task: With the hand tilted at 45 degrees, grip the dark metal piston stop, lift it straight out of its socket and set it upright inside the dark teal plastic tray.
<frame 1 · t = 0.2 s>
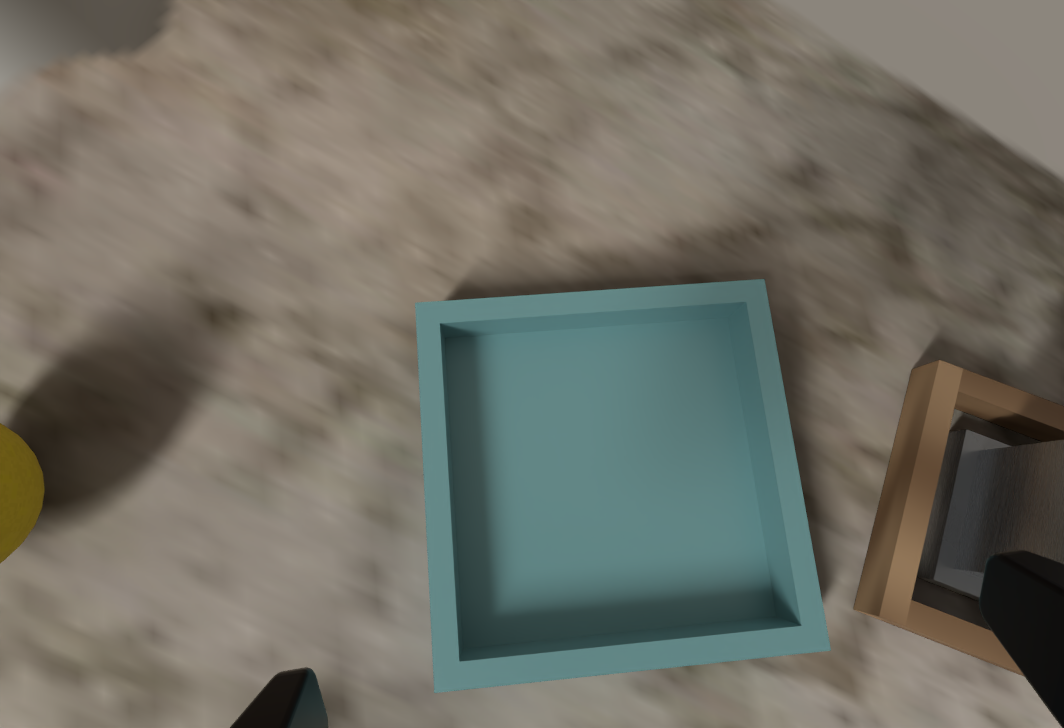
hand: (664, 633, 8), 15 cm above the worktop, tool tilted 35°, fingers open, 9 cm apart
lemon: (18, 501, 22), on the worktop
parts tray: (602, 472, 23), on the worktop
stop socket: (1005, 530, 24), on the worktop
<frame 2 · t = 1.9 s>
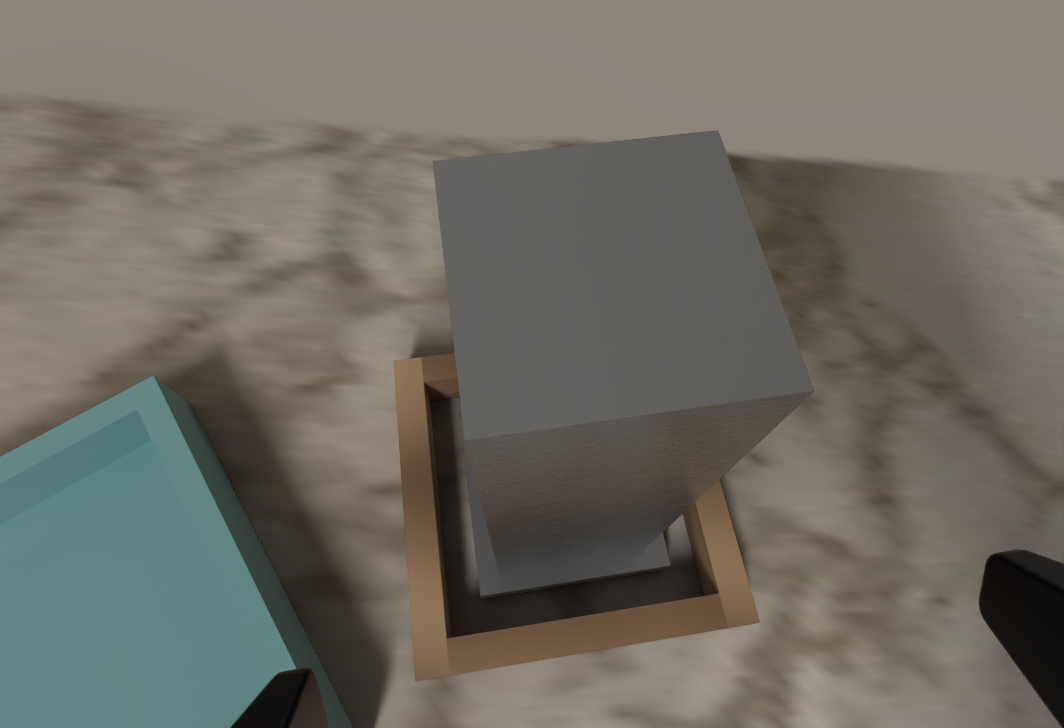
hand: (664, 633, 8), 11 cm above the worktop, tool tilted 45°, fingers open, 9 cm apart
piston stop: (573, 425, 15), in the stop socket
parts tray: (64, 690, 18), on the worktop
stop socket: (558, 493, 20), on the worktop
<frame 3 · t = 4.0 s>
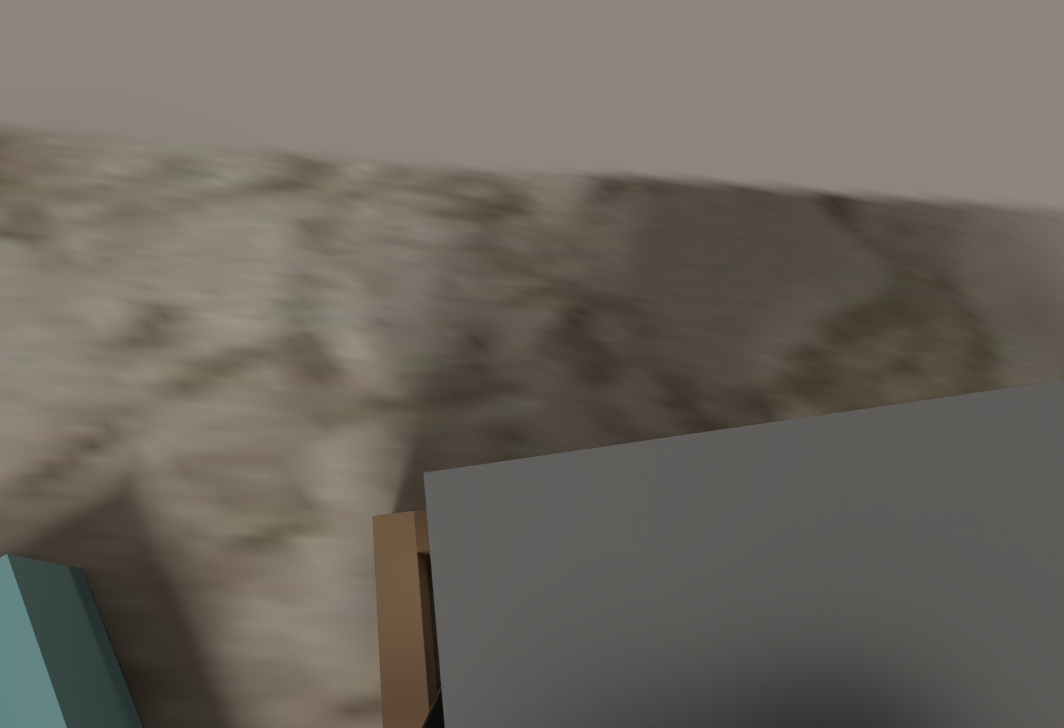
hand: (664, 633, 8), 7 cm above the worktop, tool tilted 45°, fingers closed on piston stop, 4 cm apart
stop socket: (616, 713, 14), on the worktop
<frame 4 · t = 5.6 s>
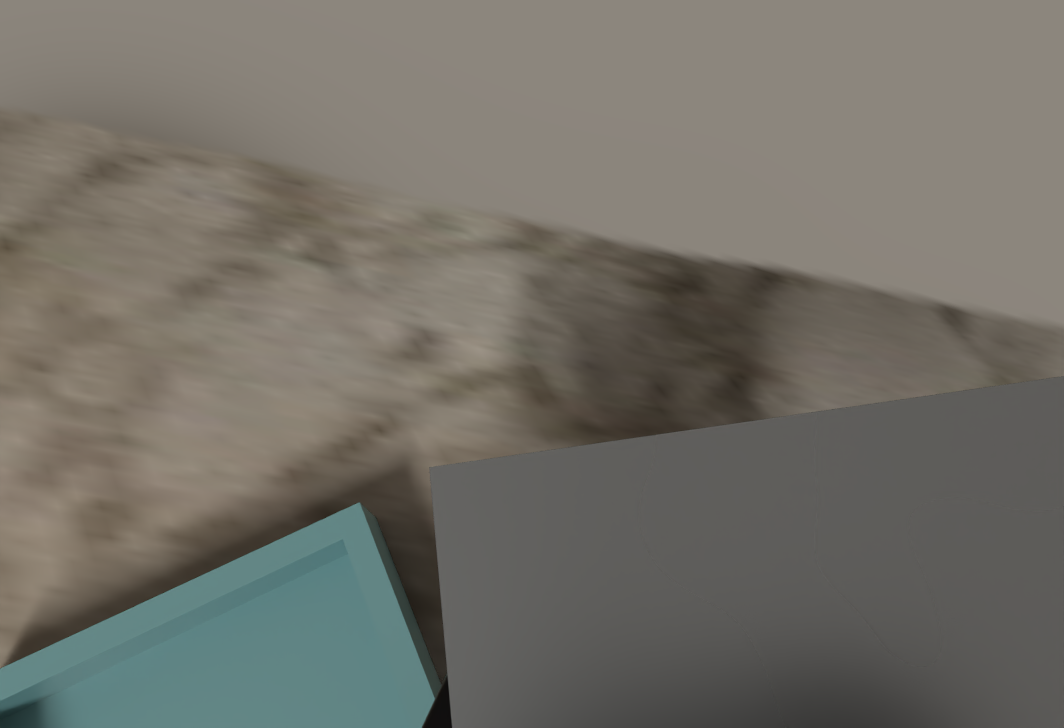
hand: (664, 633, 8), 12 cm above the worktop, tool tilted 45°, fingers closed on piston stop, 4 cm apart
when the fingers open (8 cm above the worktop, at t = 7.7 s): piston stop drops 1 cm, resting on parts tray.
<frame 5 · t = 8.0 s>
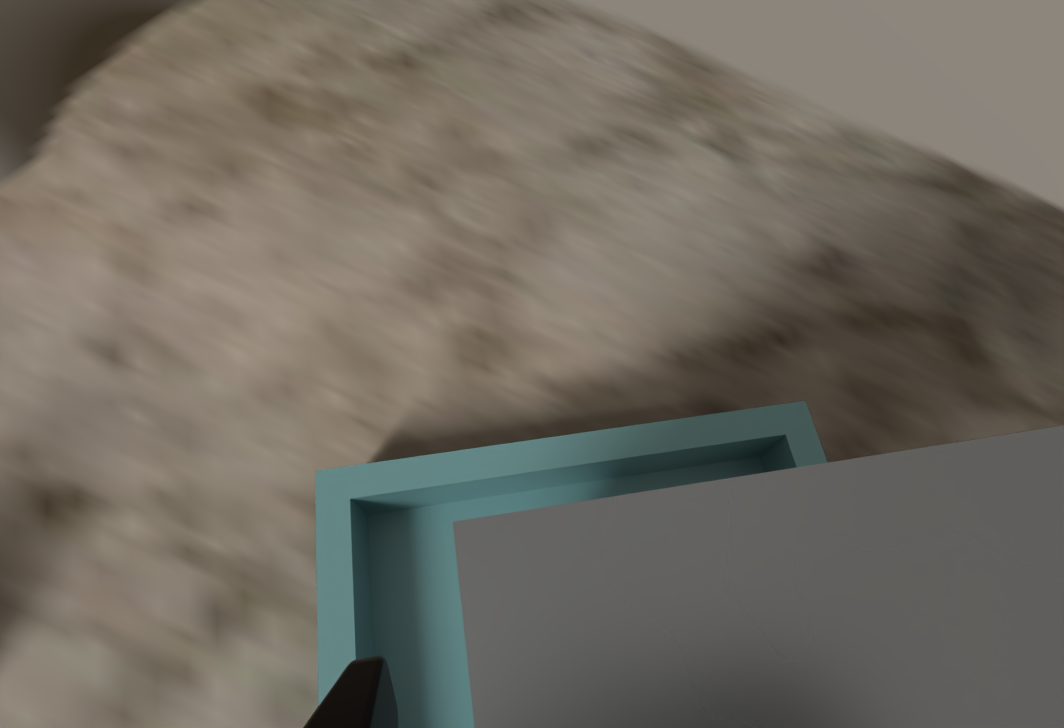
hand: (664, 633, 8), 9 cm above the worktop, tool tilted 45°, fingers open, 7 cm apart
parts tray: (606, 706, 16), on the worktop
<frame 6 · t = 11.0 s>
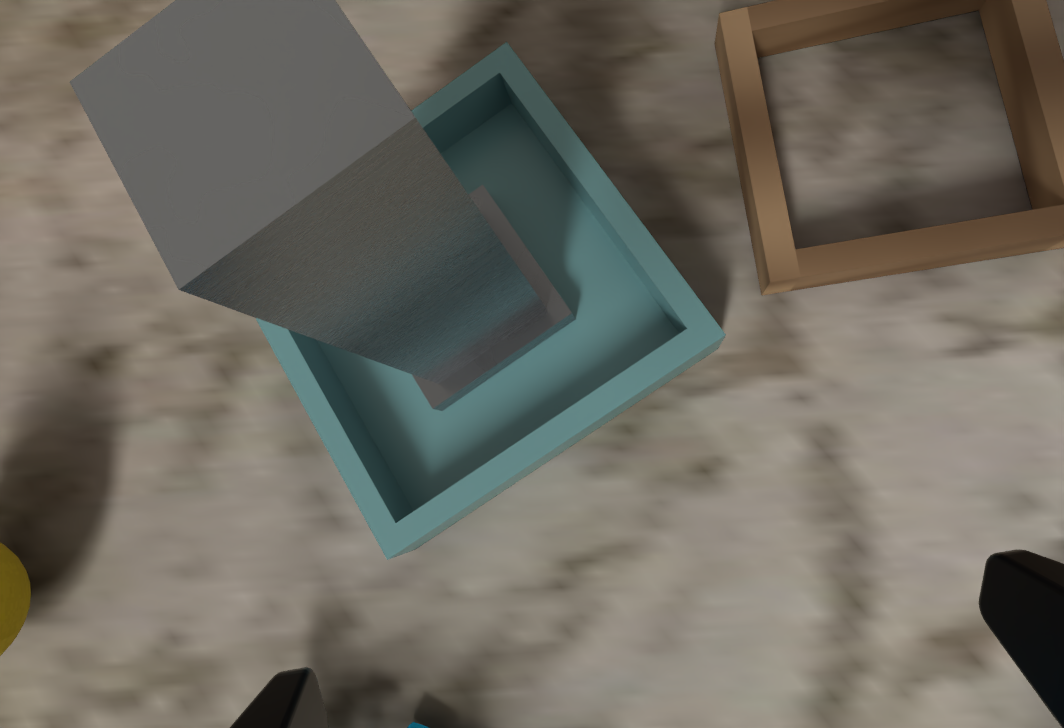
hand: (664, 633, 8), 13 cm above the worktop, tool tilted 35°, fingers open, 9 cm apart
lemon: (28, 590, 25), on the worktop
piston stop: (394, 239, 16), in the parts tray
parts tray: (470, 306, 23), on the worktop
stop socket: (881, 137, 21), on the worktop
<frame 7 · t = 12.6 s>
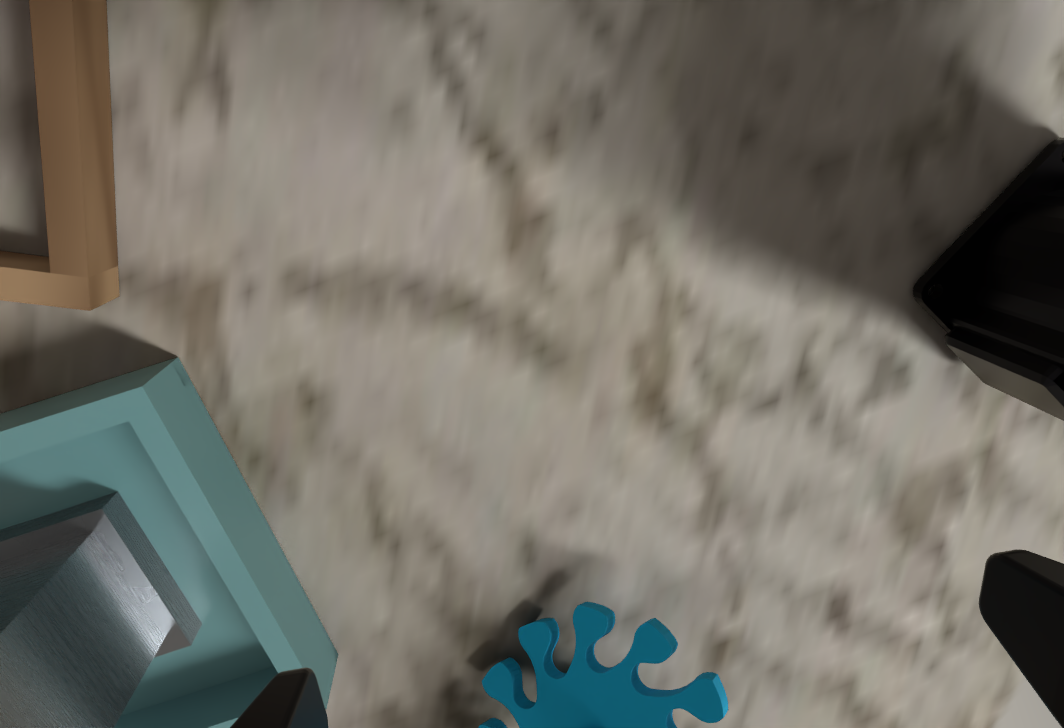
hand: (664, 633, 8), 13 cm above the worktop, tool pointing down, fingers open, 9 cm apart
gear: (571, 674, 26), on the worktop
parts tray: (90, 577, 21), on the worktop
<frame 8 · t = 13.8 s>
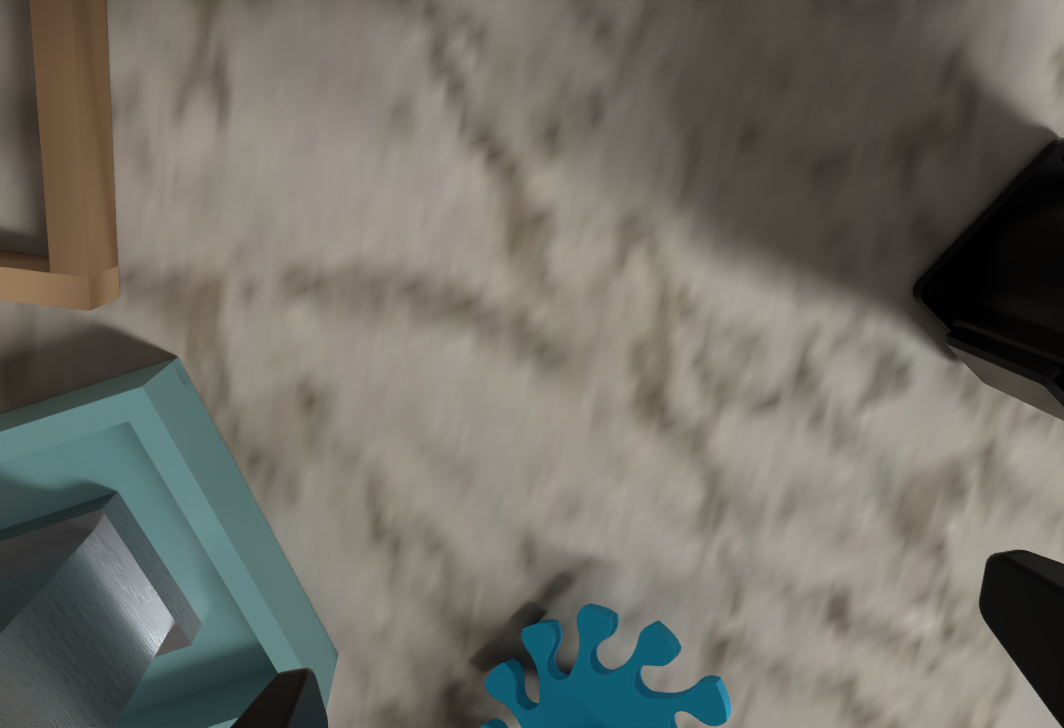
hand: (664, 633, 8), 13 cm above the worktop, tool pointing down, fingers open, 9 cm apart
gear: (573, 676, 26), on the worktop
parts tray: (90, 577, 21), on the worktop
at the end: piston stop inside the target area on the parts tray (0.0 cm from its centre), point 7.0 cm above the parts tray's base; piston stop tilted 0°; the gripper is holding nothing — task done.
